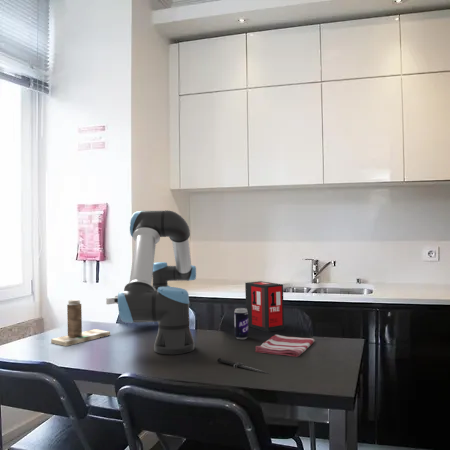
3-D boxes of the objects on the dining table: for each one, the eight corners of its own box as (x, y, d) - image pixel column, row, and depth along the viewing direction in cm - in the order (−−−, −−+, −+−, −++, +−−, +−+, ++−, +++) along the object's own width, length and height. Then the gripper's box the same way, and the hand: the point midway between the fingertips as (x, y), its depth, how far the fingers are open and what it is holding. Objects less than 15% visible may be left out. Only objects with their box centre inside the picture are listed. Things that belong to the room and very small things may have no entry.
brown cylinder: (76, 334, 194) (75, 299, 194) (86, 336, 190) (86, 300, 190) (66, 336, 190) (66, 300, 190) (77, 338, 186) (76, 302, 186)
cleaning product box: (283, 329, 204) (283, 284, 205) (268, 332, 200) (267, 286, 200) (261, 323, 218) (260, 281, 218) (246, 325, 213) (245, 282, 214)
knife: (285, 372, 142) (277, 375, 138) (285, 378, 142) (276, 381, 138) (223, 356, 157) (214, 358, 153) (223, 361, 157) (214, 363, 153)
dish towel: (254, 353, 167) (253, 346, 167) (275, 339, 188) (275, 332, 188) (299, 358, 160) (298, 350, 160) (315, 342, 181) (315, 336, 181)
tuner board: (95, 332, 205) (95, 328, 205) (110, 335, 199) (110, 331, 199) (51, 342, 187) (51, 338, 187) (65, 346, 181) (65, 341, 181)
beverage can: (238, 340, 185) (238, 310, 185) (232, 337, 190) (231, 308, 190) (251, 338, 188) (250, 309, 188) (244, 335, 193) (243, 307, 193)
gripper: (155, 304, 220) (117, 310, 201) (137, 302, 228) (98, 308, 209) (155, 288, 220) (117, 293, 201) (136, 287, 228) (98, 292, 209)
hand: (107, 301), depth 205 cm, fingers closed
